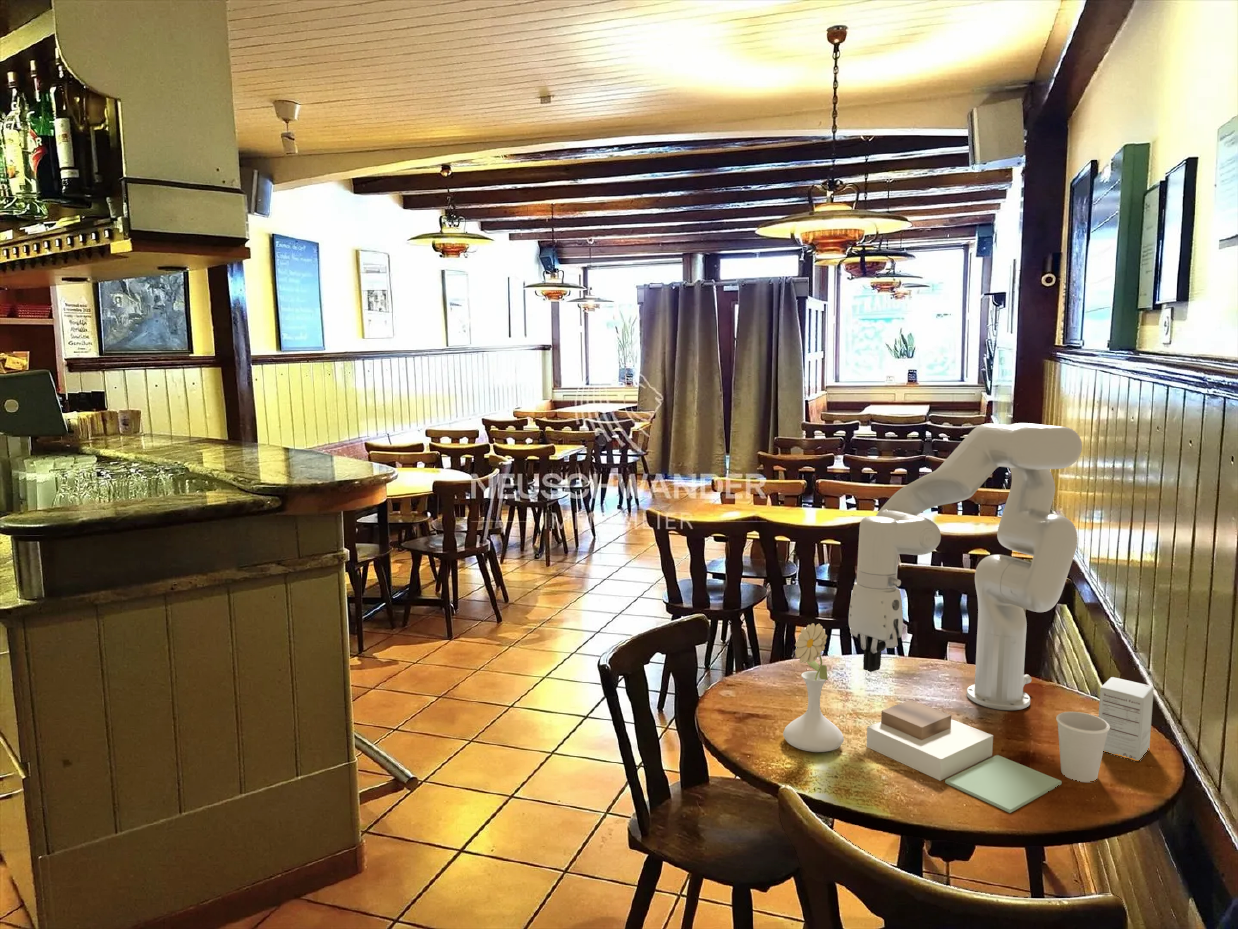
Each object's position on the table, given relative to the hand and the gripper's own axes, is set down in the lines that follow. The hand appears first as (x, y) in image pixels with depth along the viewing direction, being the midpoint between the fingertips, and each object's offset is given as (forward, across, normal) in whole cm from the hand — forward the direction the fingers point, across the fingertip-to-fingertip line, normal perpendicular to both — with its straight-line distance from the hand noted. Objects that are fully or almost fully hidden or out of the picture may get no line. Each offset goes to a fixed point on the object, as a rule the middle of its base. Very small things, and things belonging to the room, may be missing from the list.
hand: (871, 669), depth 169 cm
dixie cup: (+12, -34, -15) cm, 39 cm away
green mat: (+12, -28, -1) cm, 31 cm away
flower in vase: (+13, +1, +15) cm, 20 cm away
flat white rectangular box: (+12, -13, -1) cm, 18 cm away
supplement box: (+11, -34, -31) cm, 48 cm away
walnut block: (+8, -10, -1) cm, 13 cm away
